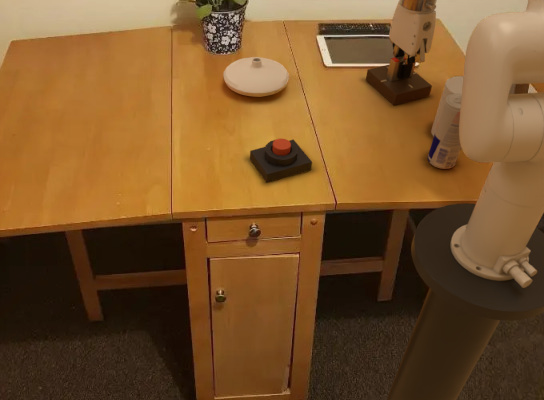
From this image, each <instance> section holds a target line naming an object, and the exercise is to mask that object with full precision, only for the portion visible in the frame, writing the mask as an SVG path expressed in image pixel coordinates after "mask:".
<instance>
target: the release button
mask: <svg viewBox="0 0 544 400" xmlns="http://www.w3.org/2000/svg"><path fill="white" fill-rule="evenodd" d="M274 140H275V141H274V142H273V148H272V151H273V153H274V154H276V155H279V156H285V155H288V154H289V153H290V149H291V143H290V141H289V140H288V139H287V138H277V139H274Z"/></svg>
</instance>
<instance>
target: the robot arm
mask: <svg viewBox="0 0 544 400" xmlns="http://www.w3.org/2000/svg"><path fill="white" fill-rule="evenodd" d="M436 4H437V0H398V2H397V5H396V7H395V10H394V12H393V16H392V19H391V23H390V27H389V34H388V39H389V41H390V43H391V45H392V49H393V51H392V56H393V58H394V57H396V58H397V57H401V56H404V59H403V63H401V65H400V69H399V73H398V79H403V78H407V77H410V74H411V71H412V67H413V63H417V64H420V63H425V61H426V54H429V53H430V51H431V47H432V44H433V39H434V35H435V28H436V21H437V12H436V11H437V10H436V9H437V5H436ZM526 5H527V6H526V9H525V10H524V11H507V12H498V13H493V14H490V15H488V16H486V17H484V18H482V19H481V20H480V21H479V22H478V23H476V26H475V27H474V28H473V30H472V32H471V34H470V36H469V39H468V42H467V45H466V50H465V56H464V65H463V75H462V76H463V86H462V97H461V109H460V121H459V139H460V145H461V151H462V152H463V154H464V155H465V156H466V157H467V158H468V159H469V160H471V161H472V162H473V161H474V162H478V163H481V164H482V163H485V164H489V163H491V164H492V163H493V164H492V165H491V167H490V169H489V172H488V174H487V176H486V178H485V181H484V183H483V185H482V188H481V189H480V193H479V196H478V197H477V201H476V203H475V204H476V205H475V208H474V210H473V212H472V215H471V217H470V220H469V222H468V224H467V225H464V226H462V227H460V228H459V229H457V230H456V231H455V233H454V234H453V236H452V239H451V242H450V247H451V251H452V254H453V256H454V257H455V259H456V260H457V261H458V263H459V264H460V265H462V266H463V267H464V268H465V269H467V270H468V271H469V272H471V273H473V274H475V275H477V276H480V277H482V278H485V279H490V280H497V281H505V280H511V279H515V281H516V282H517V283H518V284H519V285H520V286H521V287H522V288H525V287H527V286H529V285H530V284H531V283H532V279H531V278H530V277H529V276H528V275H527V274H526V273H525V272H524V271H526V272H527V273H528V274H529V275H530V276H531V277H532V276H534V275H535V274H536V273H537V270H536V269H535V268H534V267H533V266H532V265H530V264H529V263H528V261H529V257H528V255H529V253H530V252H531V251H530V250H529V249H528V248H527V247H526V245H527V243H528V241H529V239H530V238H531V236H532V234H533V232H534V230H535V228H537V226H538V224H539V222H540V220H541V218H542V217H543V215H544V92H543V91H542V92H523V93H510V91H511V89H512V86H513V85H533V84H544V0H527V4H526ZM410 55H411V56H412V57H410ZM409 57H410V58H409Z"/></svg>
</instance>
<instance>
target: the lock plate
mask: <svg viewBox="0 0 544 400" xmlns="http://www.w3.org/2000/svg"><path fill="white" fill-rule="evenodd" d="M388 68H389V64H385V65H382V66H377V67H373V68H368V69H367V71H366V76H365V81H366V82H367V83H368V84H369V85H370V86H371V87H372V88H374V90H376V91H377V92H378V93H379V94H380V95H381V96H382V97H383V98H385V100H387V101H388V102H389V103H391V105H393V106H397V105H401V104H404V103H410V102H413V101H416V100H420V99H424V98H428V97H429V98H430V95H431V93H432V92H431V91H432V88H433V85H432V84H431V83H430V82H429V81H427V80H426V79H424V78H423V77H422V76H421V75H419V74H418V72H417V71H414V72H413V76H412V77H409V78H404V79H400V80H396V81H392V82H391V81H390V80H389V79H387V78H386V77H387V73H388Z"/></svg>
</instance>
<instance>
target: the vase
mask: <svg viewBox="0 0 544 400" xmlns="http://www.w3.org/2000/svg"><path fill="white" fill-rule="evenodd" d="M223 80H224V83H225V84H226V87H228V88H229V89H230V91H233V92H235V93H237V94H240V95H243V96H248V97H267V96H272V95H275V94H277V93H279V92H281V91H282V90H284V88H285V87H287V84H288V82H289V80H290V74H289V70H287V68H286V67H285V66H284V65H283V64H282V63H280V62H279V61H276V60H274V59H271V58H268V57H262V56H250V57H249V56H248V57H243V58H239V59H237V60H234V61H232V62H231V63H230V64H229V65H228V66H226V67H225V69H224V71H223Z"/></svg>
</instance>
